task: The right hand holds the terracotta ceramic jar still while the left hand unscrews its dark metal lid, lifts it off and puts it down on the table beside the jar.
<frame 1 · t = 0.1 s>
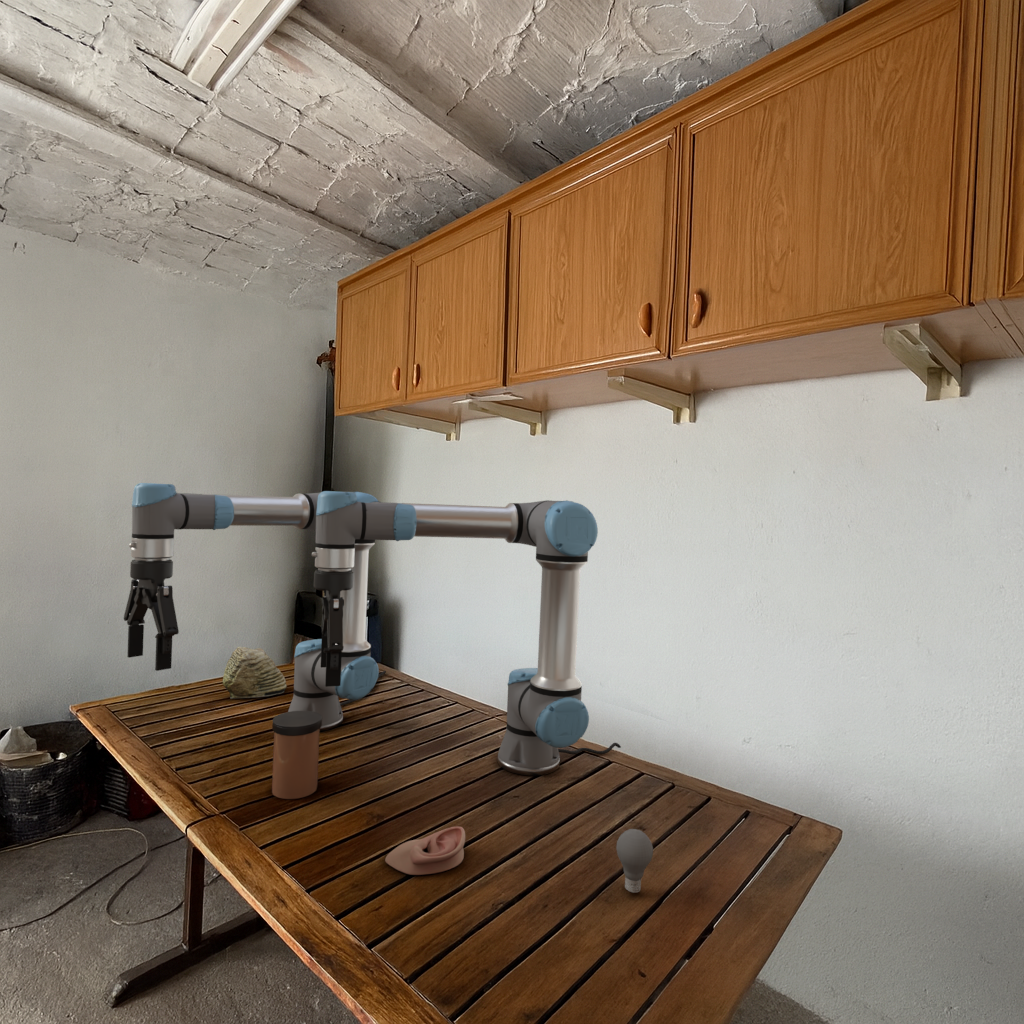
left hand: (148, 662, 129), 28 cm above the table, tool pointing down, fingers open, 13 cm apart
right hand: (330, 676, 126), 28 cm above the table, tool pointing down, fingers open, 13 cm apart
fossil: (254, 694, 198), on the table
jar: (294, 788, 137), on the table
anatomical model: (425, 858, 113), on the table
light bulb: (632, 891, 106), on the table
lid: (297, 720, 137), point 15 cm above the table, screwed on, not yet turned
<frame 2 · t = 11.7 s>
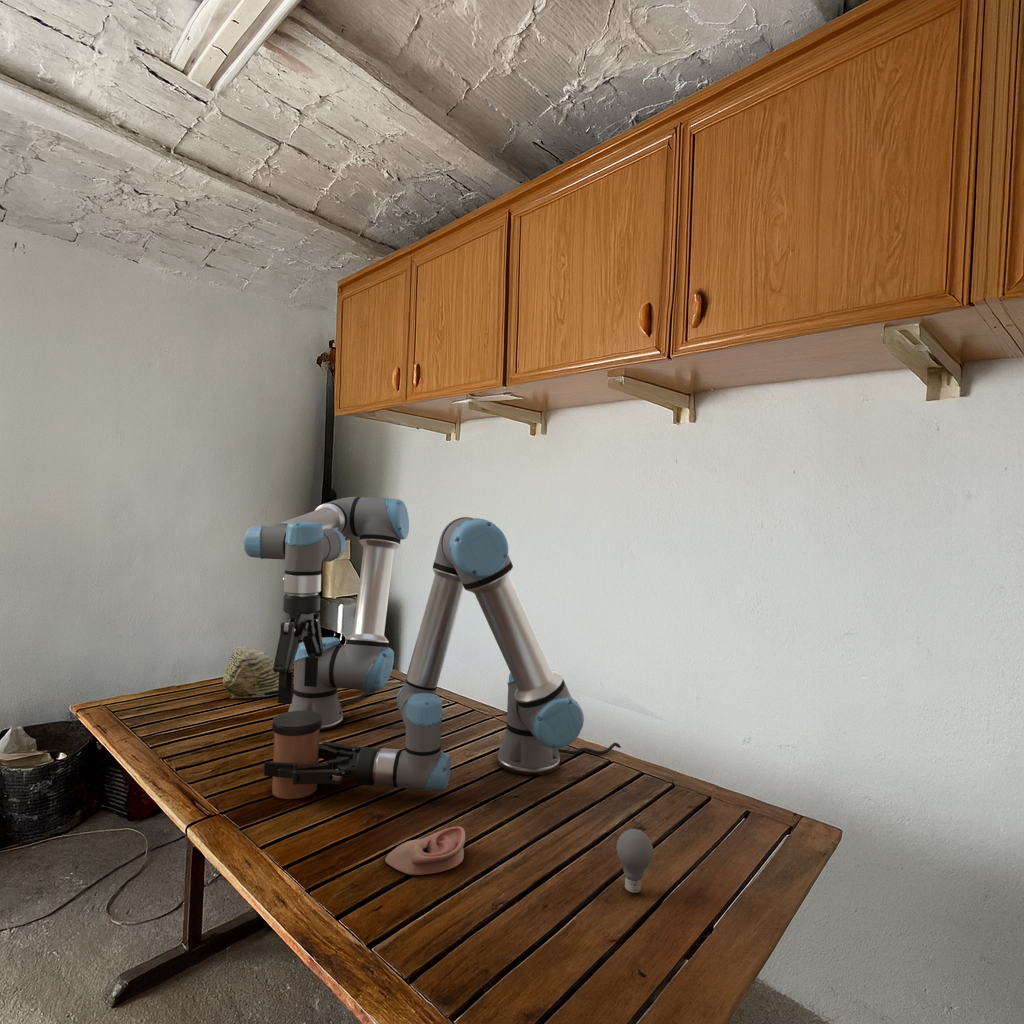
left hand: (298, 694, 136), 21 cm above the table, tool pointing down, fingers open, 11 cm apart
right hand: (276, 758, 137), 6 cm above the table, tool horizontal, fingers closed on jar, 9 cm apart
jar: (294, 788, 137), on the table, touching right hand
everything else where it was.
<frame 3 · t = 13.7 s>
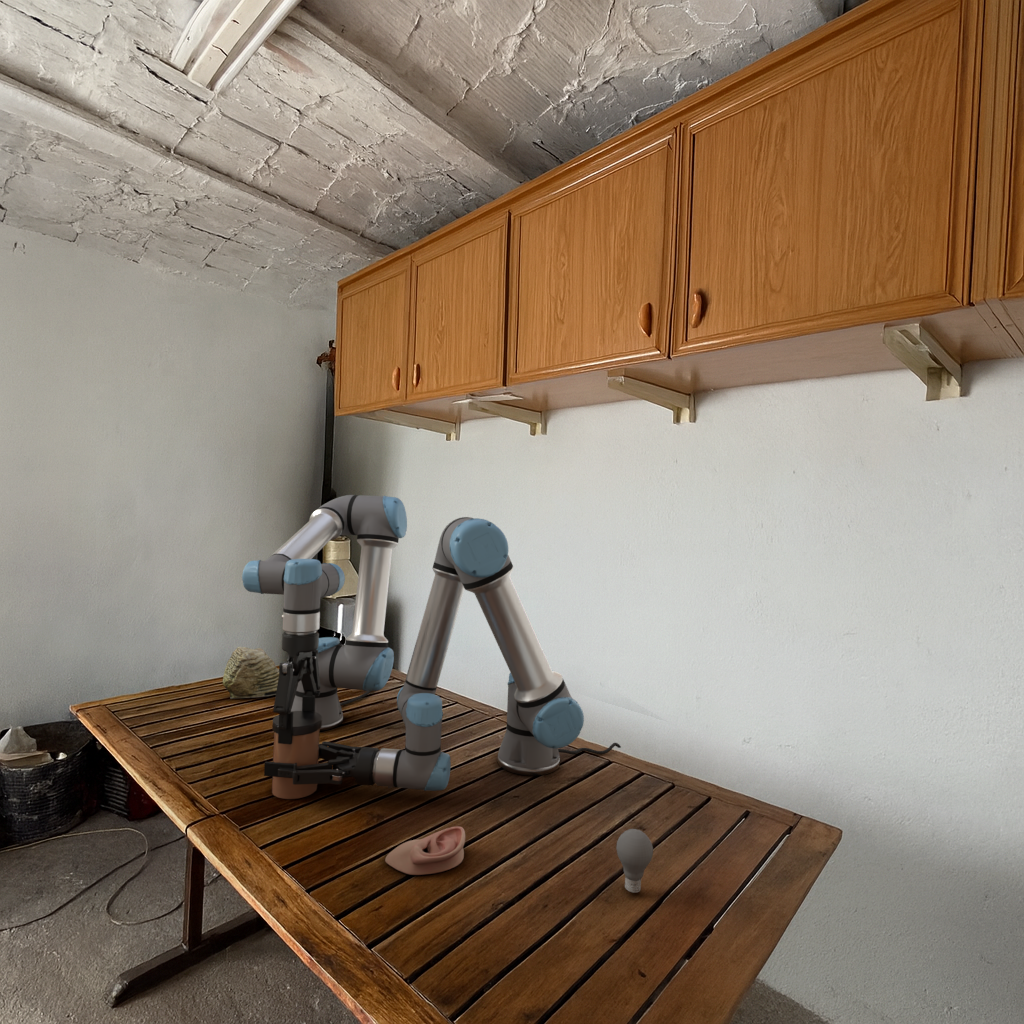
left hand: (296, 733, 137), 12 cm above the table, tool pointing down, fingers closed on lid, 10 cm apart
right hand: (276, 758, 137), 6 cm above the table, tool horizontal, fingers closed on jar, 9 cm apart
jar: (294, 788, 137), on the table, touching right hand
lid: (297, 720, 137), point 15 cm above the table, screwed on, not yet turned, touching left hand
everything else where it was.
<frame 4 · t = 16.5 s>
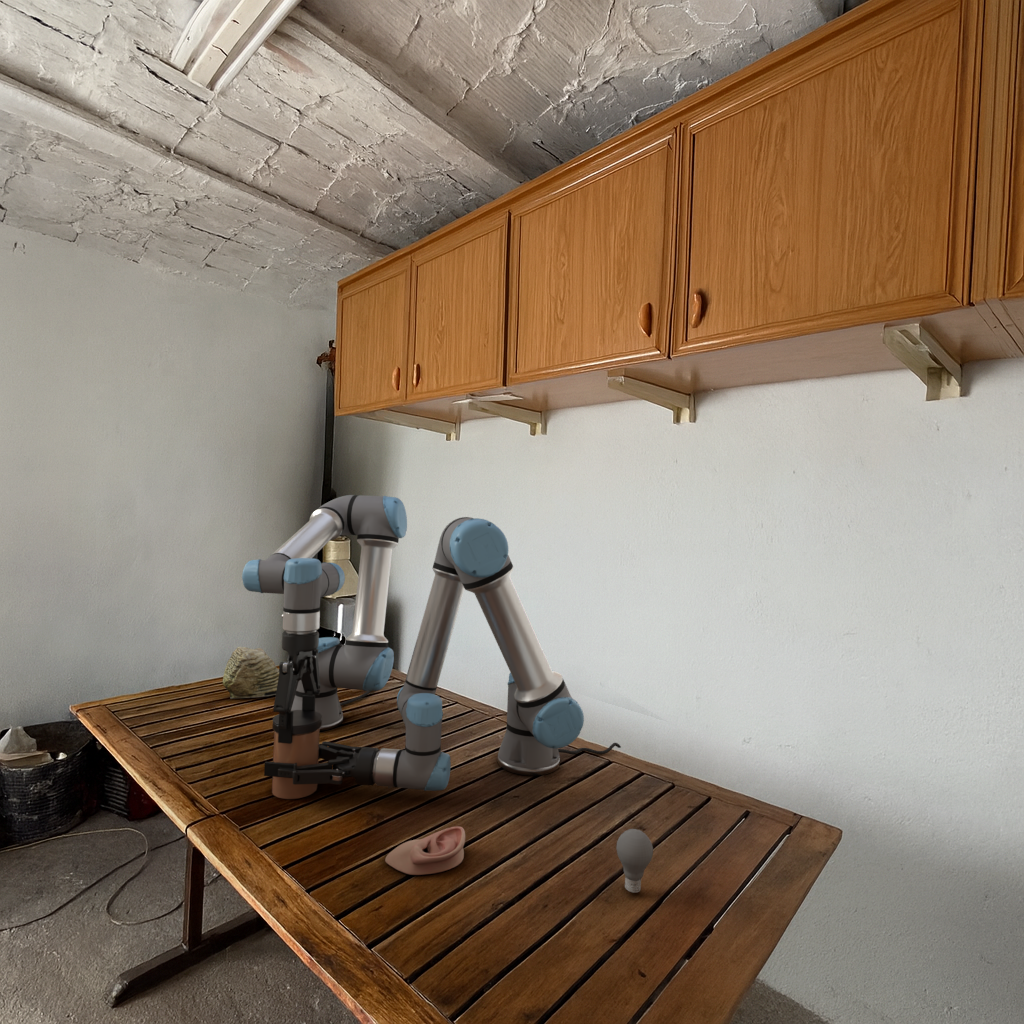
left hand: (296, 733, 137), 12 cm above the table, tool pointing down, fingers closed on lid, 10 cm apart
right hand: (276, 758, 137), 6 cm above the table, tool horizontal, fingers closed on jar, 9 cm apart
jar: (294, 788, 137), on the table, touching right hand
lid: (297, 719, 137), point 15 cm above the table, turned 68° so far, risen 0.2 cm, still on its thread, touching left hand
everything else where it was.
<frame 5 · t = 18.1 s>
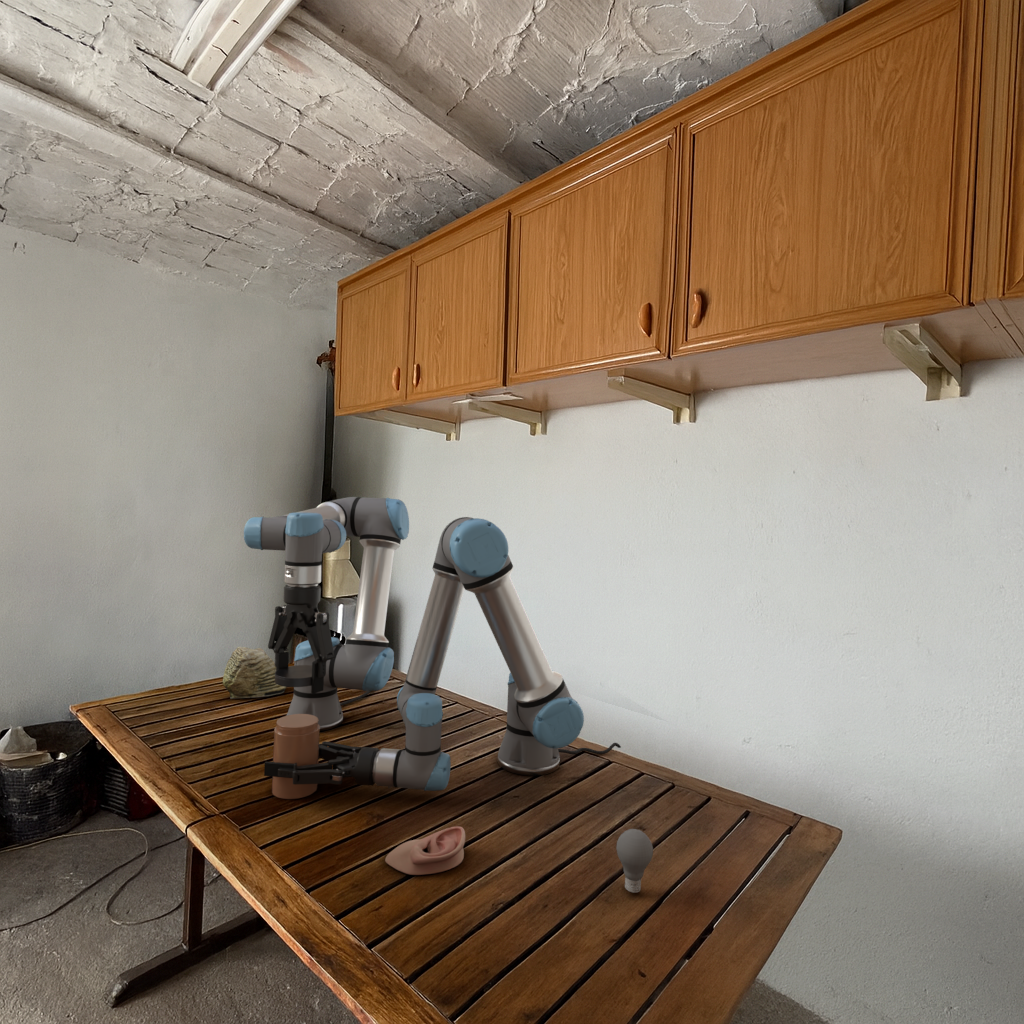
left hand: (299, 687, 137), 22 cm above the table, tool pointing down, fingers closed on lid, 10 cm apart
right hand: (276, 758, 137), 6 cm above the table, tool horizontal, fingers closed on jar, 9 cm apart
jar: (294, 788, 137), on the table, touching right hand
lid: (299, 673, 137), point 25 cm above the table, off its thread, touching left hand
everything else where it was.
when the left hand's fingers open (0 cm above the table, at t = 23.3 s): lid drops 2 cm, point 2 cm above the table.
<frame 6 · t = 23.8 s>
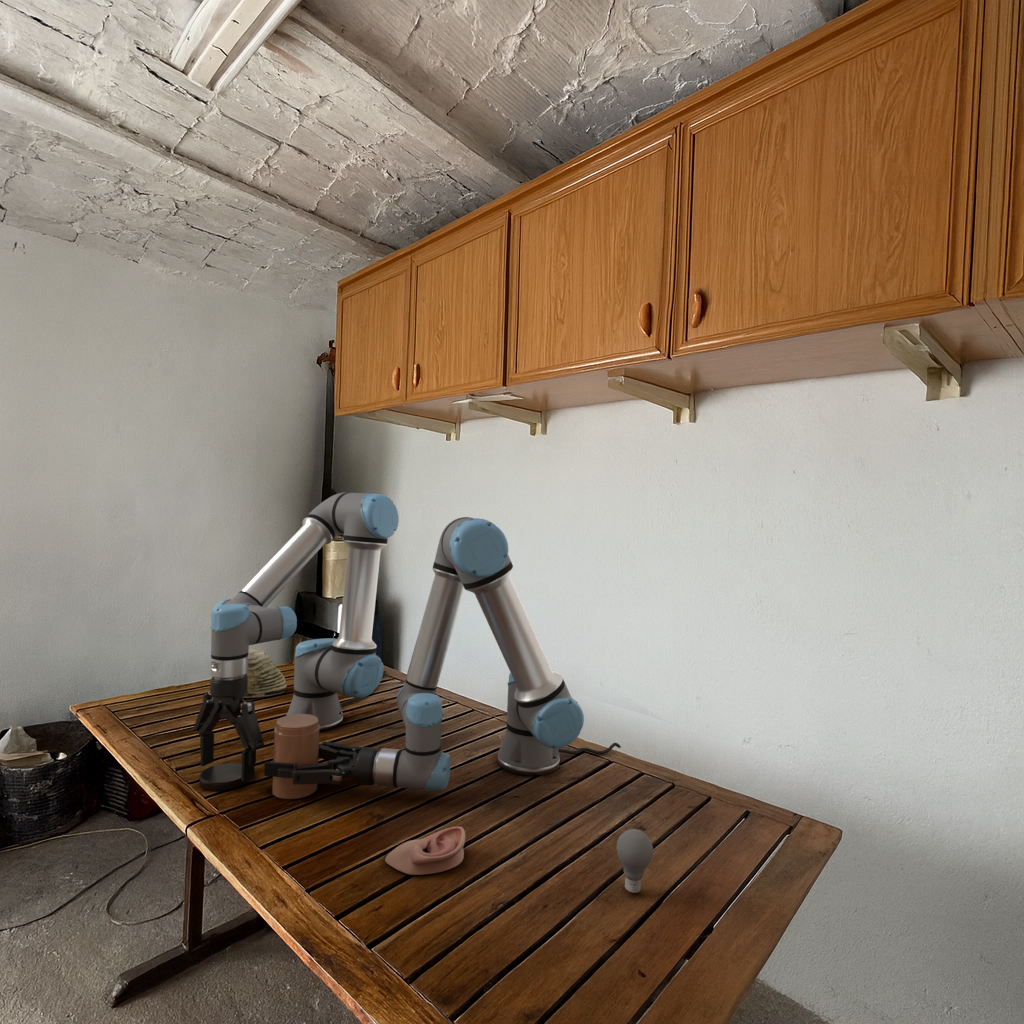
left hand: (226, 771, 139), 2 cm above the table, tool pointing down, fingers open, 13 cm apart
right hand: (276, 758, 137), 6 cm above the table, tool horizontal, fingers closed on jar, 9 cm apart
jar: (294, 788, 137), on the table, touching right hand
lid: (225, 773, 139), point 2 cm above the table, off its thread
everything else where it was.
when the right hand's fingers open (6 cm above the table, at t = 24.4 s): jar stays where it is, on the table.
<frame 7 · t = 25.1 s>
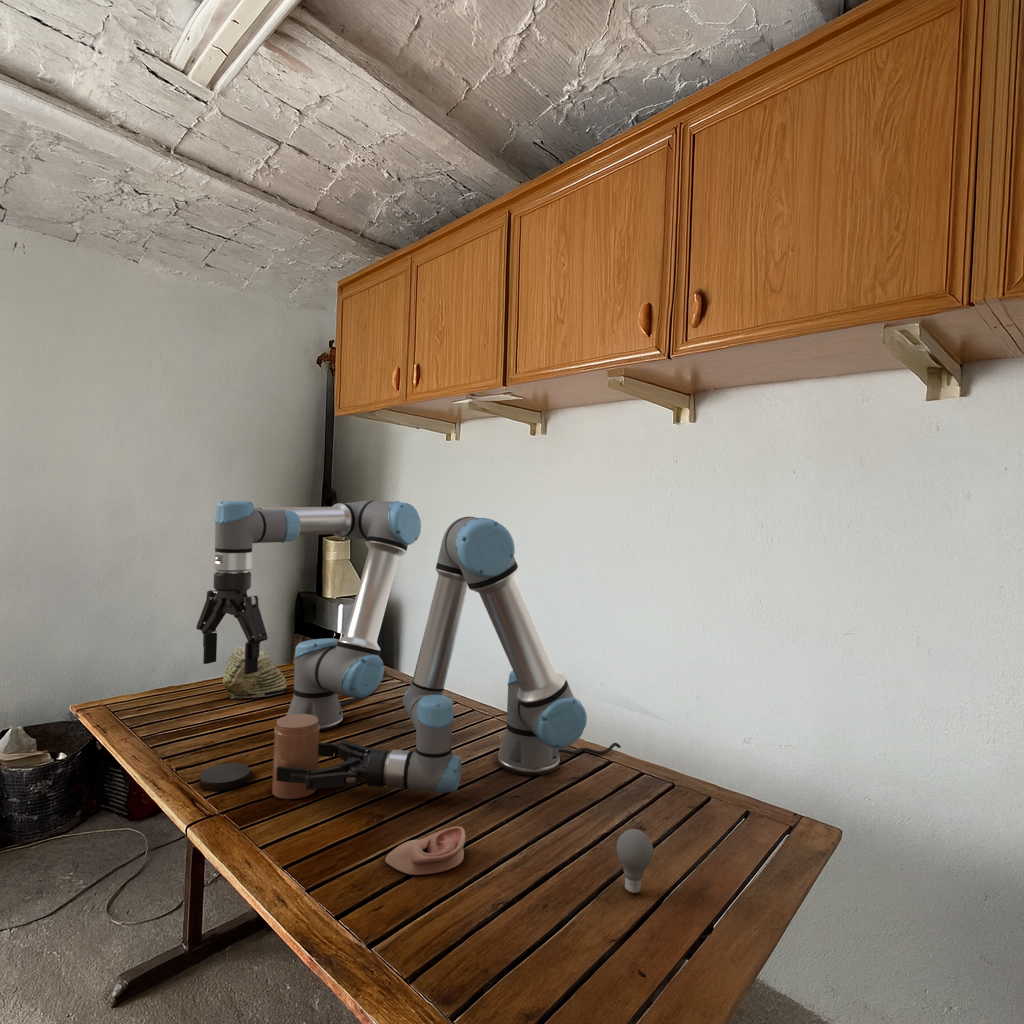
left hand: (229, 667, 139), 25 cm above the table, tool pointing down, fingers open, 13 cm apart
right hand: (291, 760, 137), 6 cm above the table, tool horizontal, fingers open, 13 cm apart
jar: (294, 788, 137), on the table
everything else where it was.
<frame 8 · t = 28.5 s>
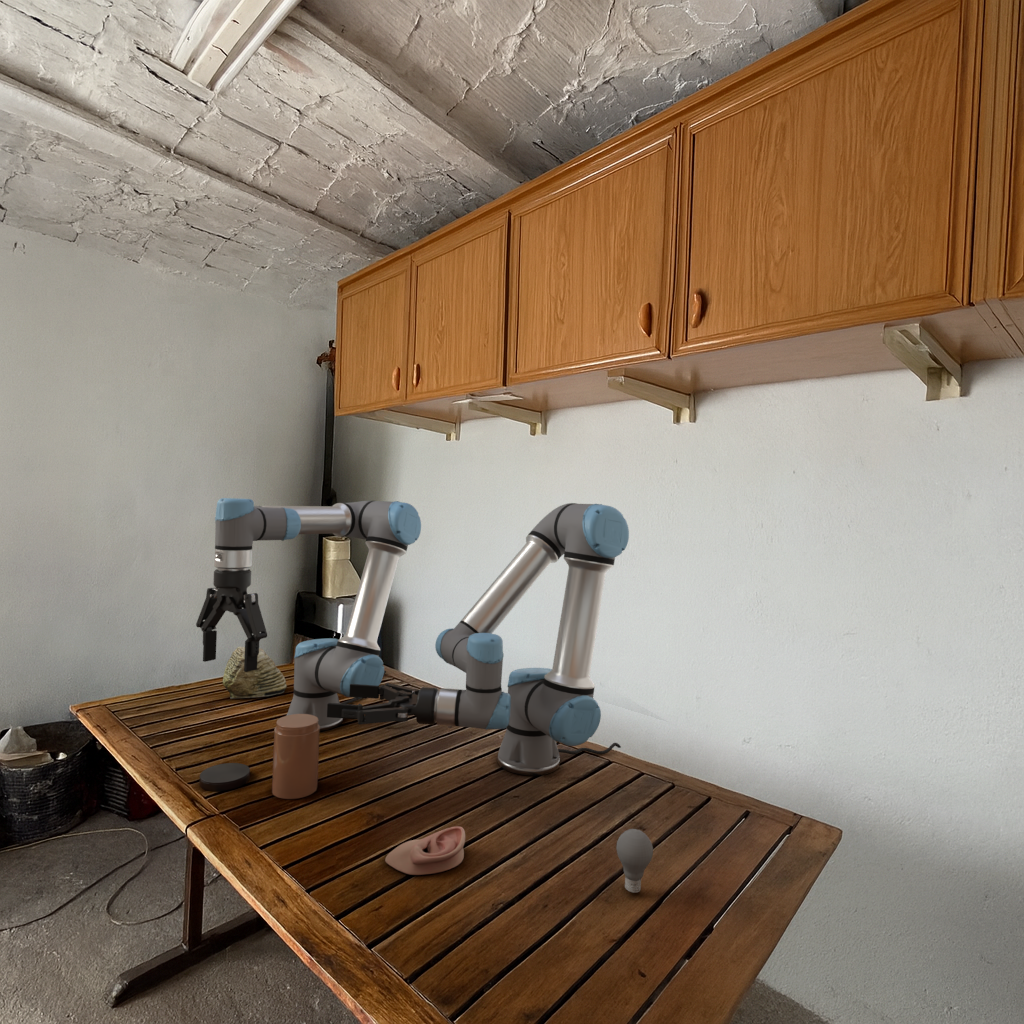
left hand: (229, 665, 139), 26 cm above the table, tool pointing down, fingers open, 13 cm apart
right hand: (339, 699, 136), 20 cm above the table, tool horizontal, fingers open, 13 cm apart
nothing on the table moved.
at the end: lid came off its thread; lid point 1.5 cm above the table; the left hand is holding nothing; the right hand is holding nothing; jar tilted 0°; jar moved 0.0 cm from its start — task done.
